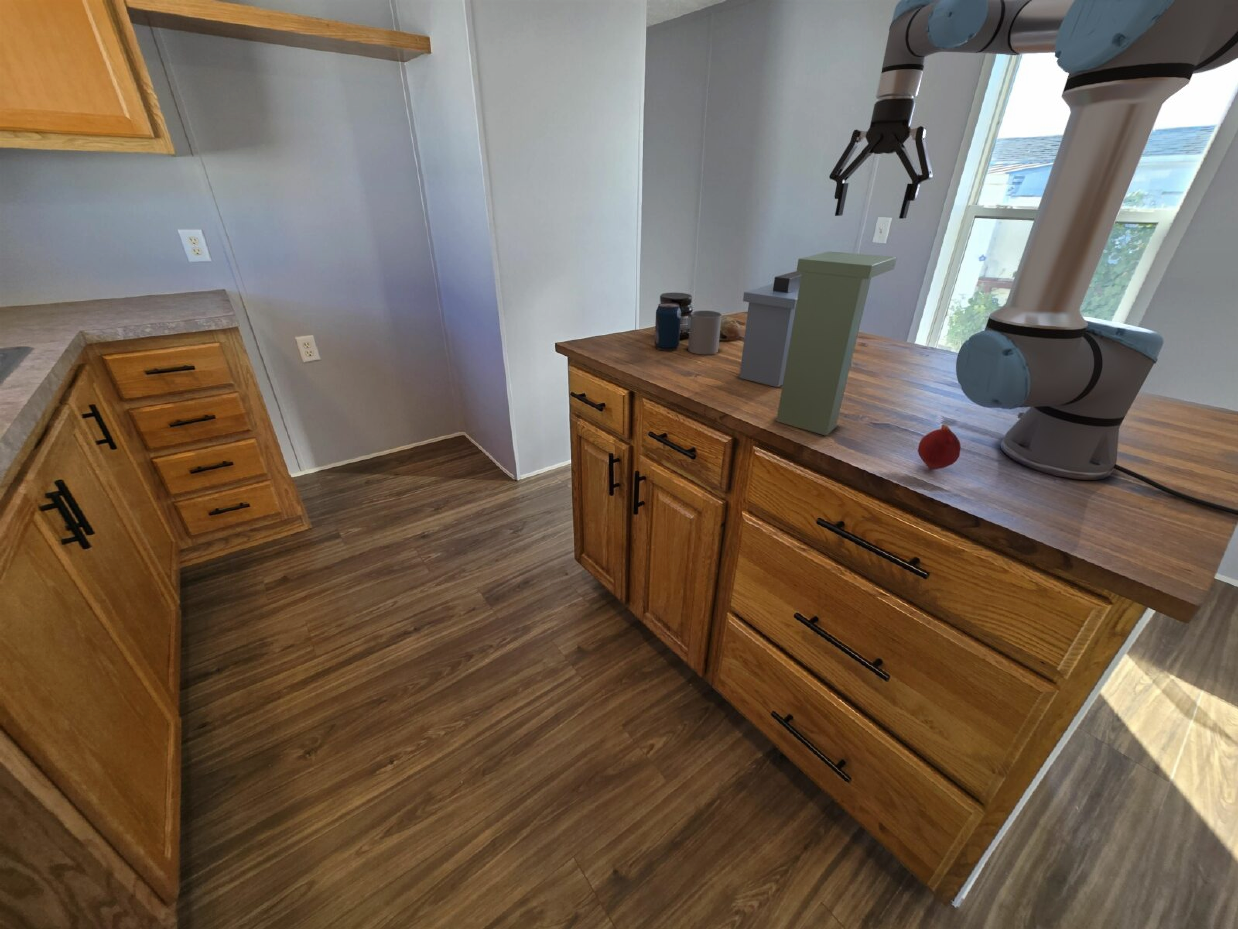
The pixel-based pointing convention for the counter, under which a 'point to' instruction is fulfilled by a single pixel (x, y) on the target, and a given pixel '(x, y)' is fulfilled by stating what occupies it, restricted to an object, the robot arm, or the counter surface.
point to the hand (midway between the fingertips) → (869, 217)
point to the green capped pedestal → (825, 336)
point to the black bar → (787, 282)
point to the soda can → (667, 326)
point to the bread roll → (729, 329)
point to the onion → (939, 448)
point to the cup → (704, 332)
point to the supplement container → (685, 307)
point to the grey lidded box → (767, 334)
